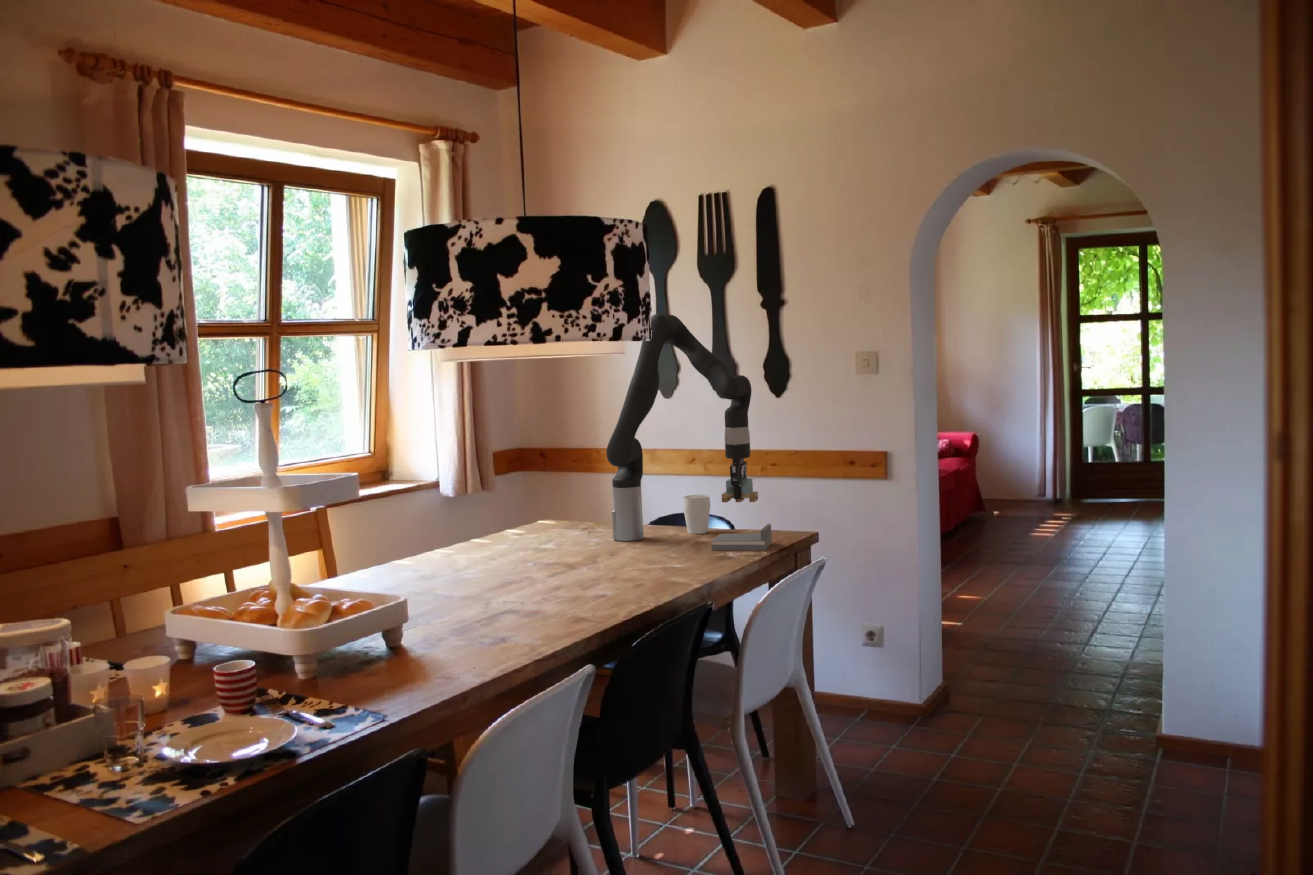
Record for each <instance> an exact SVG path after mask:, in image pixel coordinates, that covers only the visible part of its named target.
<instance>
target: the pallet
mask: <svg viewBox="0 0 1313 875" xmlns="http://www.w3.org/2000/svg"><path fill="white" fill-rule="evenodd" d="M735 481H737V480H735ZM753 484H754V483H753V478H747V479H742V480H741V497H742V498H741V499H734V490H733V486H731V478H729V479H727V480H725V488H726V489H725V492H723V493H721V503H729V502H730V501H731V500H732V499H734V500H735V503H742V502H743V501H745V499H748V501H749V503H755V502H756V501H758V500H759V491H754V488H753V486H754V485H753Z"/></svg>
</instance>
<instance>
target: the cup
mask: <svg viewBox="0 0 1313 875" xmlns="http://www.w3.org/2000/svg"><path fill="white" fill-rule="evenodd" d="M682 508H683V513H684V519H685V524H686V529H687V530H686V531H687V533H688V534H689V535H701V534H702V535H704V534H707V533H708V532H709V524H710V522H709V521H710V512H711V499H710V495H708V494H688V495H685V496H683V497H682ZM706 532H707V533H706Z"/></svg>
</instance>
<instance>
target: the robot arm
mask: <svg viewBox="0 0 1313 875" xmlns="http://www.w3.org/2000/svg"><path fill="white" fill-rule="evenodd" d="M650 317H651V330H652V339H651V340H650V341H642V340H641V345H640V350H639V354H638V358H637V361H636V364H635V368H634V371H633V375H632V377H631V380H630V383H629V385H628V389H627V391H626V395H625V399H624V402H623V405H622V408H621V411H620V413H619V414H620V415H619V417H618V420H617V423H616V425H615V427H614V430H613V432H612V434H611V437H610V439H609V441H608V443H607V446H606V451H605V452H606V454H605V455H606V458H607V461H608V463H609V464H610V465H612V466H614V467H617V472H616V473H615V475H614V477H613V478H612V500H613V502H612V503H613V510H612V511H611V519H612V520H611V522H612V523H611V524H612V539H613V541H618V542H619V541H620V542H621V541H622V542H625V541H626V542H627V541H628V542H630V541H639V540H642V539H644V519H643V517H644V516H643V498H642V479H643V474H644V468H643V467H644V462H643V460H644V458H643V456H644V455H643V448H642V444H641V442H640V441H639V439H638V438H637V437H636V434H637V433H638V429H639V427H640V426H641V424H642V423H643V421H644V420H645V419H646V417H647V415H648V414H649V413H650V411H651V410H652V408H653V406H654V404H655V402H656V399H657V395H658V392H659V390H660V389H659V388H660V383H661V382H660V370H659V360H660V356H661V354H662V350H663V347H664V345H672V346H674V347H675V348H676V349H679V350H680V351H681V352H682V353H683V354H684V355H685V356H686V357H687V358H688V360H689V362H690V364H691V365H692V367H693V368H694V369H695V370H696V372H698V373H699V374H700V375H702V376H703V377H704V378H706V379H707V380H708V382H710V384H711V386H712V387H713V388H714V389H715V391H716V392H717V394H718V395H720V396H721V397H722V398H723V399H725V400H729V401H730V400H731V401H730V406H729V407H728V408H726V409H725V411H724V451H725V458H726V459H727V460H728V459H729V460H732V461H731V464H730V466H729V472H730V473H729V474H730V476H729V477H730V479H731V486H733V490H734V498H733V500H735V499H741V498H742V497H741V480H742V479H748V472H747V471H748V466H747V465H748V463H747V461H746V460H745V459H747V458H750V457H751V439H750V438H751V437H750V429H749V409H750V404H751V399H752V398H751V397H752V385H751V382H750V379H749V378H748V377H746V376H745V375H741V374H740V375H731V374H730V373H728V367H727V365H726V363H724V362H723V361H722V360H721V359H720V358H718V357H717V356H716V355H715V354H714V353H713V352H711V351H710V350H709V349H708V348H706V347H705V346H704V344H702V342H700V341H699V340H698V339H697V338H696V337H695V335H694V334H693V333H692V332H691V331H690V330H689V328H688V327H687V326H686V325H685V324H684V323H683V321H682V320H681V319H680V318H678V317H677V316H675V315H673V314H668V313H655V314H653V315H651V316H650ZM735 480H737V481H735Z"/></svg>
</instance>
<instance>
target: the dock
mask: <svg viewBox="0 0 1313 875" xmlns="http://www.w3.org/2000/svg"><path fill="white" fill-rule="evenodd" d="M772 538H773V537H772V524H771V523H767V524H766V525H765V526H763V527H762V529H760V533H719V534H718V535H717V536H716V537H714V538H712V540H711V551H719V552H720V551H730V552H731V551H732V552H733V551H734V552H735V551H739V552H740V551H750V552H751V551H754V552H755V551H756V552H757V551H758V552H761V551H766V550H767V549H768V548H769V547H770V546H771V545H772V540H773V539H772ZM770 544H771V545H770ZM769 545H770V546H769ZM767 547H768V548H767Z"/></svg>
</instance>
